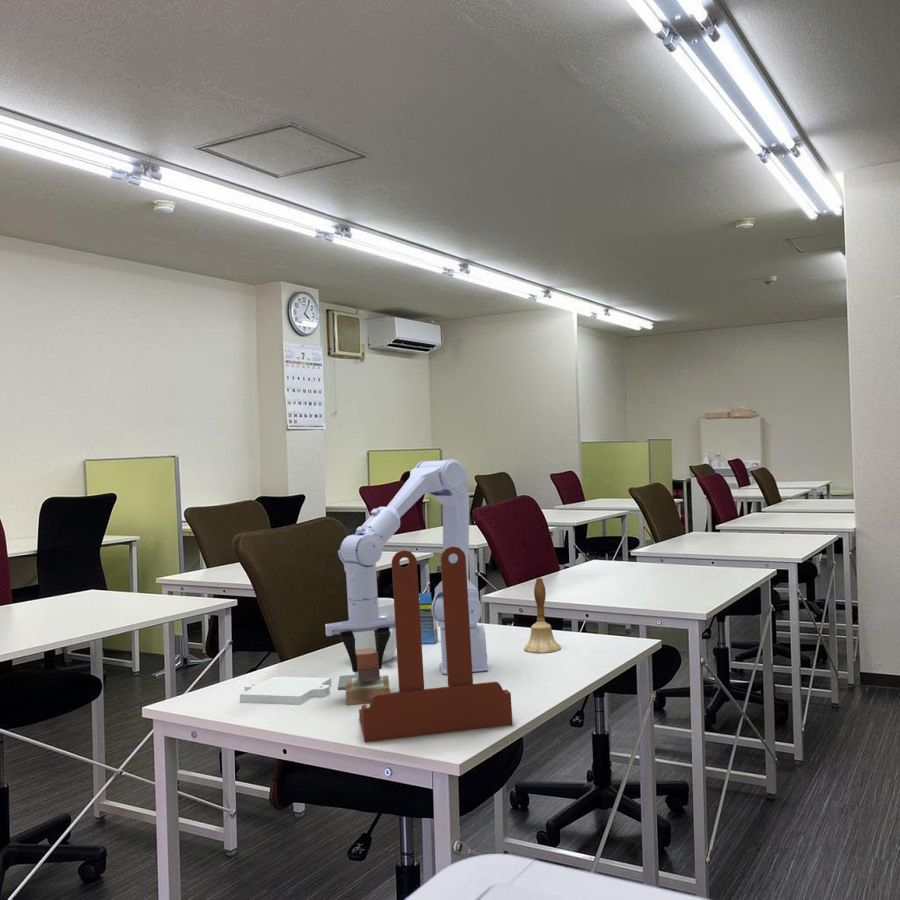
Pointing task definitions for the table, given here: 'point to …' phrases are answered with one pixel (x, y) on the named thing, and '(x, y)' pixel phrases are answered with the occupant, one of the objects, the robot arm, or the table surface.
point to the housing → (367, 665)
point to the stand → (365, 690)
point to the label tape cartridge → (427, 620)
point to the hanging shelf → (414, 704)
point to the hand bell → (541, 626)
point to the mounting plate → (286, 690)
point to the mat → (344, 681)
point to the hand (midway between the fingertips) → (366, 669)
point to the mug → (368, 637)
